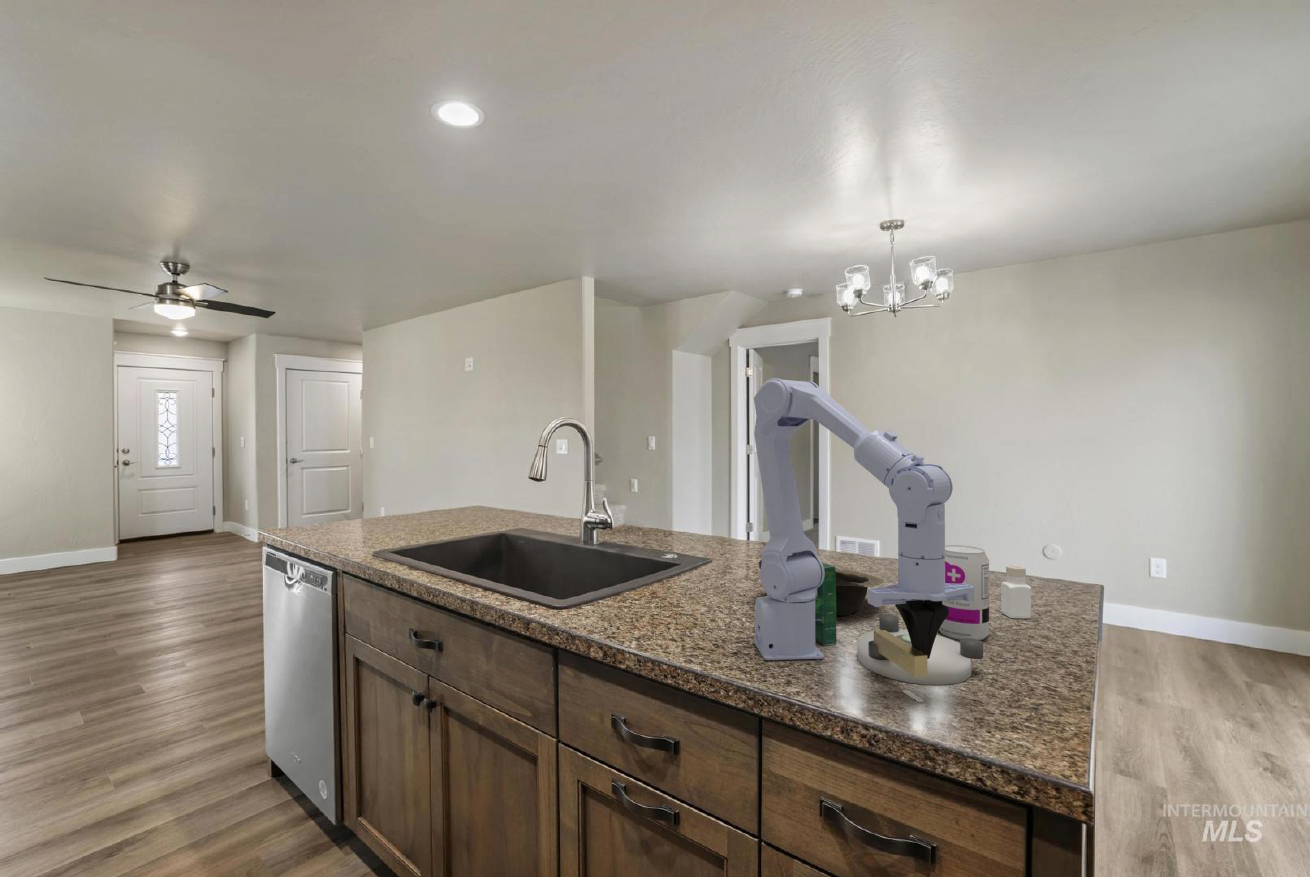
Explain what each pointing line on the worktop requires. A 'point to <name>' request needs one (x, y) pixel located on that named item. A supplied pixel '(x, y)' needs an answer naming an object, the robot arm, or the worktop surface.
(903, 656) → the lever
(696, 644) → the worktop surface
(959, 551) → the supplement can
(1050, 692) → the worktop surface
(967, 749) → the worktop surface
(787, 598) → the robot arm
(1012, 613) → the salt shaker
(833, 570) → the coffee box
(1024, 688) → the worktop surface
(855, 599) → the stone bowl
